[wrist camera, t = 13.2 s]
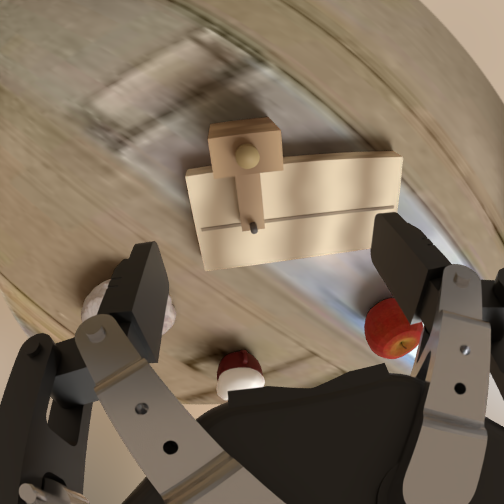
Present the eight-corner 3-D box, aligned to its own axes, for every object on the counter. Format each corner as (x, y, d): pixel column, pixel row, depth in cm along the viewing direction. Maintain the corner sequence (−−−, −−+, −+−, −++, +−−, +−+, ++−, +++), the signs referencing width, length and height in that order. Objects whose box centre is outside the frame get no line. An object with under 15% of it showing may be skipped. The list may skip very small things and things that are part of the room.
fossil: (167, 290, 29) (180, 349, 35) (169, 262, 33) (180, 323, 39) (60, 295, 28) (89, 351, 34) (70, 269, 31) (95, 326, 37)
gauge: (268, 117, 25) (283, 132, 19) (275, 208, 30) (289, 246, 24) (210, 124, 25) (207, 141, 19) (224, 215, 30) (225, 254, 24)
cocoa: (236, 334, 40) (242, 411, 30) (273, 349, 42) (287, 422, 32) (202, 371, 44) (201, 441, 33) (237, 383, 46) (242, 450, 35)
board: (393, 150, 27) (403, 157, 26) (384, 235, 33) (392, 245, 31) (187, 169, 27) (185, 176, 25) (205, 259, 32) (205, 271, 31)
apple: (372, 284, 37) (397, 328, 30) (416, 288, 38) (442, 328, 32) (348, 326, 41) (366, 370, 34) (390, 328, 43) (410, 367, 36)
